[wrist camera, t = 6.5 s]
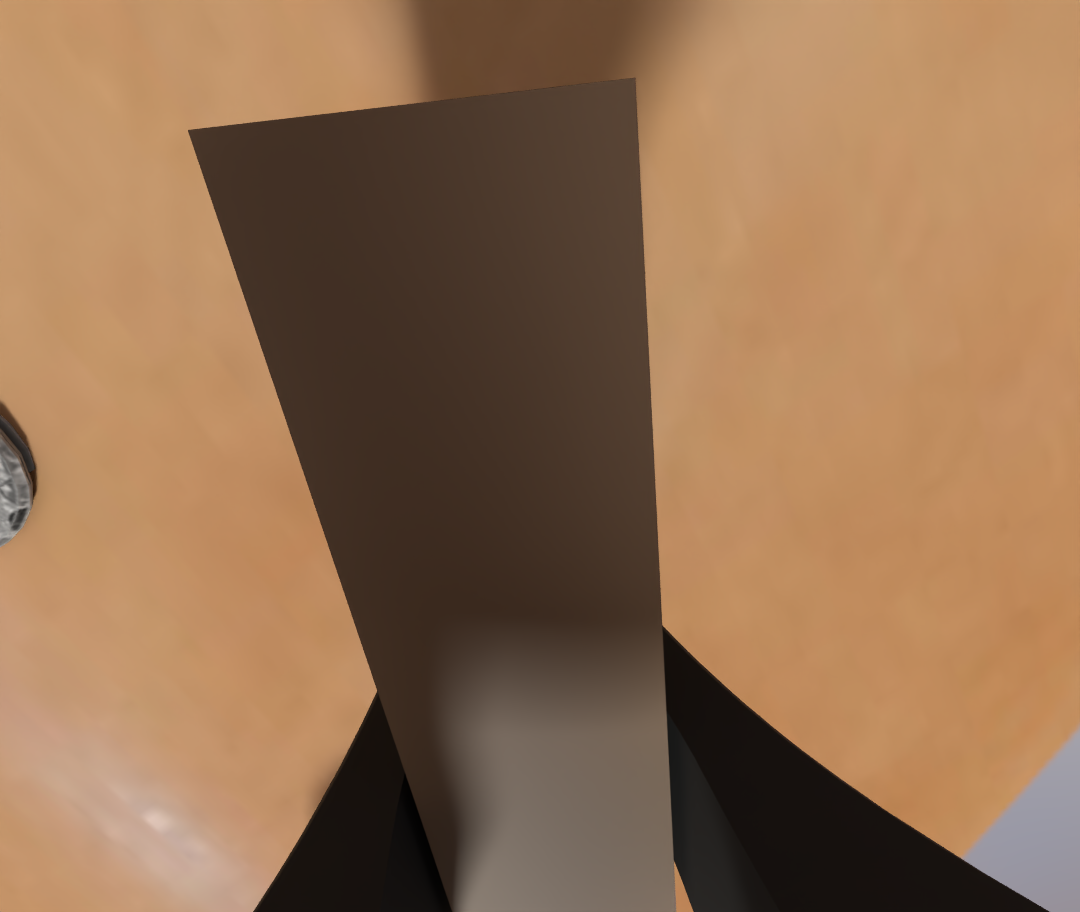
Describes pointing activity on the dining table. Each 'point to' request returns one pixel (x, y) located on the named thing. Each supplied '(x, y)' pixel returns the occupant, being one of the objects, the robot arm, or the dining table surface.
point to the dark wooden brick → (480, 461)
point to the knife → (14, 482)
